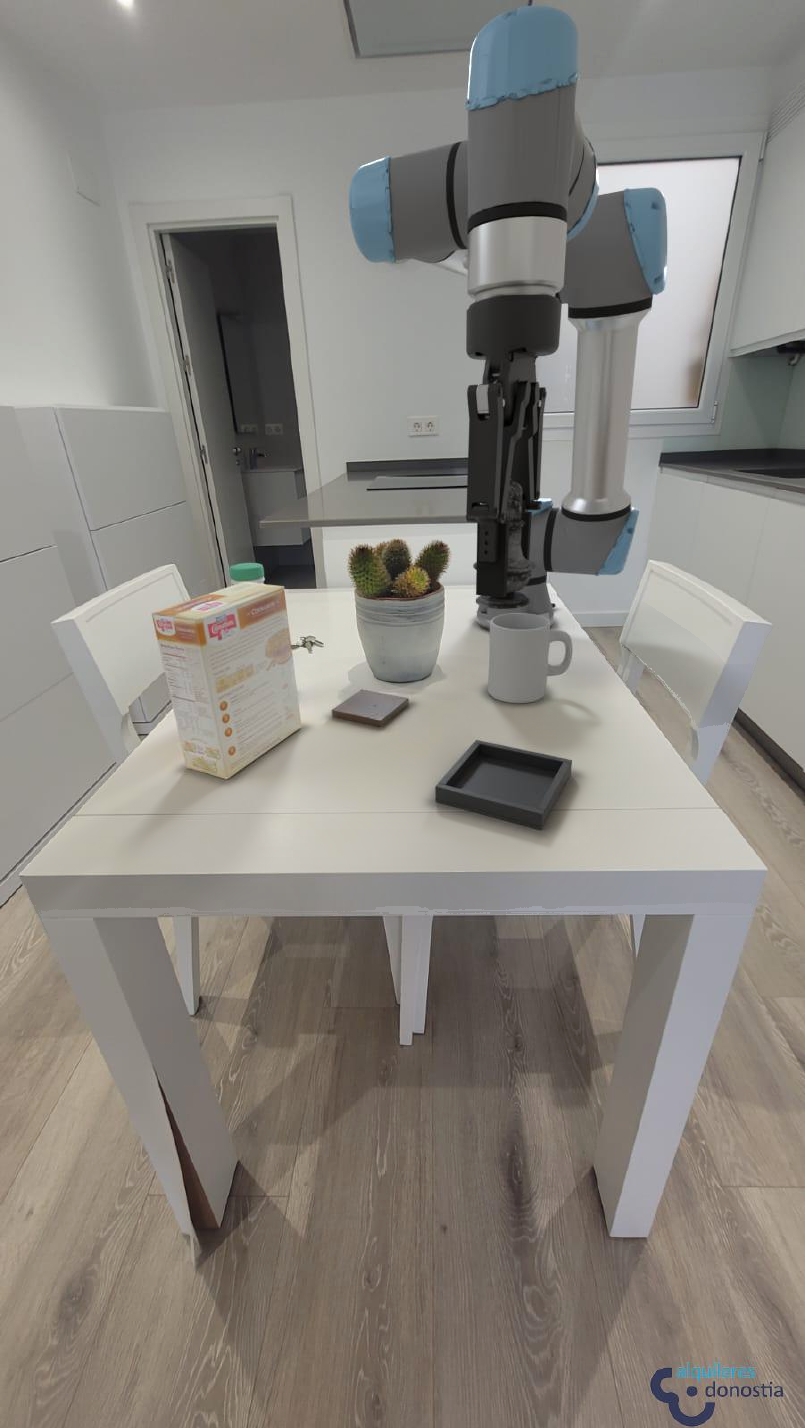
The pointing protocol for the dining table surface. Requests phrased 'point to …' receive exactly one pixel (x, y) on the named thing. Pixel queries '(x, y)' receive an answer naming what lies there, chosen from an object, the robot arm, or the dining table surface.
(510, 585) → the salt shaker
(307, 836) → the dining table surface
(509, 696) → the mug
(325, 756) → the dining table surface
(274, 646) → the coffeecake box
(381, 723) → the coaster
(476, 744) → the pan
